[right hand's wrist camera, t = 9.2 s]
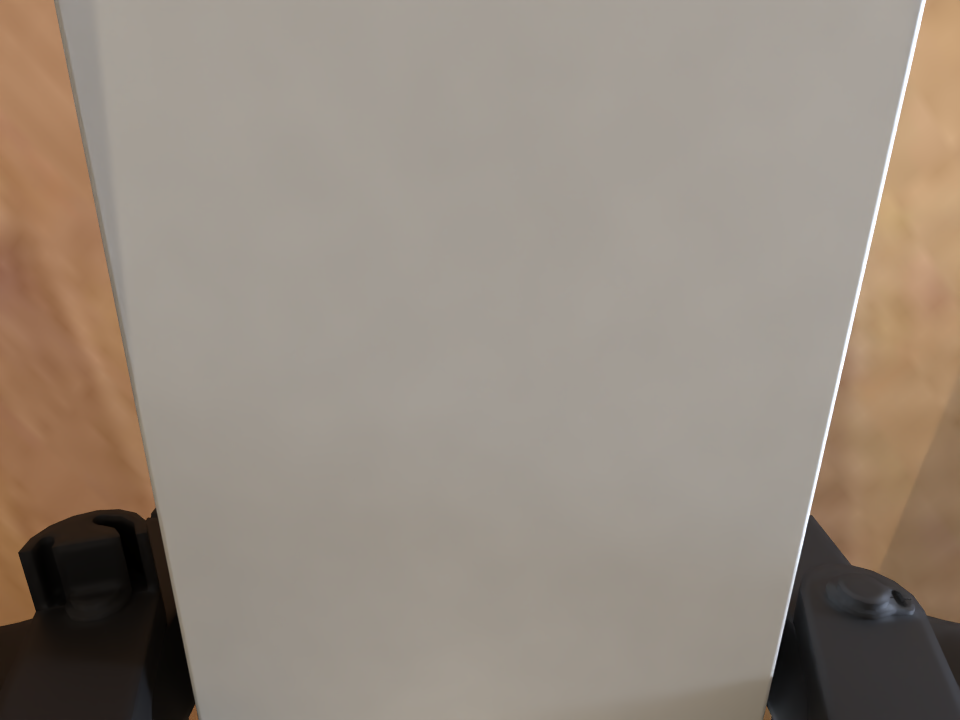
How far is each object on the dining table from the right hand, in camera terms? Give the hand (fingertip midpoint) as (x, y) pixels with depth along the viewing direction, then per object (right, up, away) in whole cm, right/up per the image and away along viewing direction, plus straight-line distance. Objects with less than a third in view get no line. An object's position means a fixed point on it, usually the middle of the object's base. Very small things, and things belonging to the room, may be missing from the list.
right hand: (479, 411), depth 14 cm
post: (0, +26, -10) cm, 27 cm away
